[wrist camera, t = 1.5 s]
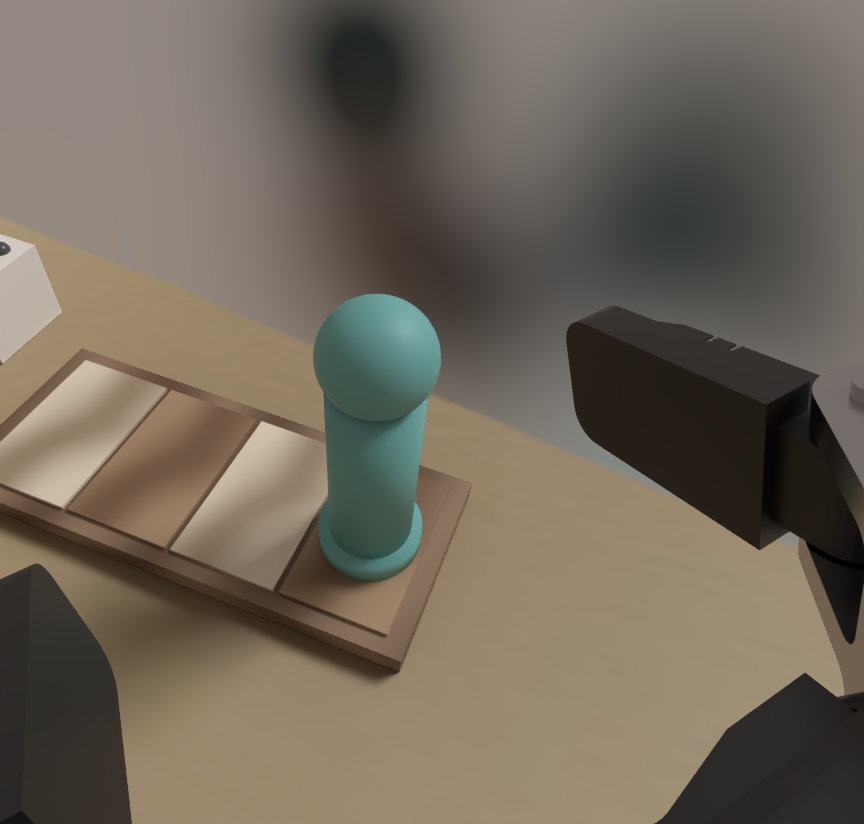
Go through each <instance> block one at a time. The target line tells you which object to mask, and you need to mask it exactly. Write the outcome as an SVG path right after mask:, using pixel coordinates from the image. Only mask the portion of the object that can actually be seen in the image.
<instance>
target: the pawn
mask: <svg viewBox="0 0 864 824" xmlns="http://www.w3.org/2000/svg"><path fill="white" fill-rule="evenodd" d="M313 363H314V369H315V374H316V377H317V380H318V383H319V385H320V387H321V388H322V390H323V392H324V413H325V436H326V458H327V481H328V499H327V501H326V502H325V504H324V505H323V507H322V509H321V512H320V515H319V521H318V528H319V542H320V548H321V551H322V554H323V556H324V558H325V559H326V561H327V562H328V563H329V565H330V566H331V567H332V568H333V569H335V570H336V571H337V572H338V573H340V574H342V575H343V576H346V577H348V578H350V579H353V580H357V581H363V582H376V581H382V580H386V579H389V578H391V577H394V576H396V575H398V574H399V573H401V572H402V571H404V570H405V569H406V568H407V567H408V566H409V565H410V564H411V563H412V561H413V560H414V559H415V557H416V555H417V553H418V550H419V546H420V541H421V534H422V523H423V522H422V516H421V512H420V509H419V507H418V505H417V504H416V502H415V496H416V488H417V480H418V472H419V464H420V456H421V448H422V440H423V432H424V424H425V416H426V408H427V400H428V396H429V394H430V393H431V391H432V390H433V388H434V386H435V383H436V381H437V379H438V375H439V371H440V366H441V352H440V345H439V341H438V338H437V335H436V332H435V330H434V329H433V327H432V325H431V324H430V322H429V320H428V319H427V318H426V317H425V316H424V314H423V313H422V312H421V311H420V310H419V309H417V308H416V307H415V306H413V305H412V304H410V303H409V302H407V301H405V300H403V299H400V298H397V297H394V296H390V295H385V294H368V295H363V296H359V297H356V298H353V299H351V300H349V301H347V302H345V303H343V304H342V305H340V306H339V307H337V308H336V309H335V310H334V311H333V312H332V313H331V314H330V315H329V316H328V317H327V318H326V320H325V321H324V323H323V325H322V326H321V328H320V330H319V332H318V335H317V337H316V341H315V345H314V353H313Z"/></svg>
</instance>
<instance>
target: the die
mask: <svg viewBox="0 0 864 824" xmlns="http://www.w3.org/2000/svg"><path fill="white" fill-rule="evenodd" d="M61 313H62V311H61V308H60V306H59V304H58V301H57V299H56V296H55V294H54V292H53V289H52V287H51V284H50V282H49V279H48V277H47V275H46V272H45V270H44V267H43V265H42V262H41V260H40V258H39V255H38V253H37V250H36V248H35V245H32V244H29V243H26V242H23V241H20V240H17V239H14V238H11V237H7V236H4V235H1V234H0V363H2V364H3V363H4V362H5V361H7V360H8V359H9V358H10V357H11V356H12V355H14V354H15V353H16V352H17V351H18V350H19V349H20V348H22V347H23V346H24V345H25V344H26V343H27V342H29V341H30V340H31V339H32V338H33V337H34V336H35V335H37V334H38V333H39V332H40V331H41V330H42V329H44V328H45V327H46V326H47V325H48V324H49V323H51V322H52V321H53V320H54V319H55V318H56V317H57V316H59V315H60V314H61Z"/></svg>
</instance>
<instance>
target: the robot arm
mask: <svg viewBox="0 0 864 824" xmlns="http://www.w3.org/2000/svg"><path fill="white" fill-rule="evenodd" d="M566 341H567V350H568V358H569V366H570V374H571V382H572V390H573V398H574V406H575V412H576V415H577V418H578V420H579V423H580V425H581V427H582V428H583V430H584V431H585V433H586V434H587V435H588V437H589V438H590V439H591V440H592V441H594V442H595V443H596V444H598V445H599V446H601V447H602V448H604V449H605V450H607V451H608V452H610V453H611V454H613V455H615V456H616V457H618V458H619V459H621V460H622V461H624V462H625V463H627V464H628V465H630V466H631V467H633V468H634V469H636V470H637V471H639V472H641V473H642V474H644V475H645V476H647V477H648V478H650V479H652V480H653V481H654V482H656V483H657V484H659V485H660V486H662V487H663V488H665V489H667V490H668V491H670V492H671V493H673V494H674V495H676V496H677V497H679V498H680V499H682V500H683V501H685V502H686V503H688V504H689V505H691V506H693V507H694V508H696V509H697V510H699V511H700V512H702V513H703V514H705V515H706V516H708V517H709V518H711V519H712V520H714V521H716V522H717V523H719V524H720V525H722V526H723V527H725V528H726V529H728V530H729V531H731V532H732V533H734V534H735V535H737V536H738V537H740V538H742V539H743V540H745V541H746V542H748V543H749V544H751V545H752V546H754V547H755V548H757V549H758V550H761V549H762V548H764V547H765V546H767V545H769V544H770V543H772V542H773V541H775V540H777V539H778V538H780V537H781V536H783V535H784V534H786V533H788V532H789V531H790V532H792V533H794V534H795V535H797V536H798V537H799V545H798V555H799V559H800V562H801V565H802V567H803V570H804V573H805V575H806V578H807V581H808V583H809V586H810V589H811V591H812V594H813V597H814V599H815V602H816V605H817V607H818V610H819V613H820V615H821V618H822V620H823V623H824V626H825V628H826V631H827V634H828V636H829V639H830V642H831V644H832V647H833V650H834V652H835V655H836V658H837V660H838V663H839V666H840V670H841V674H842V678H843V684H844V692H845V695H844V696H840V697H836V696H835V695H833V694H832V693H831V692H829V691H828V690H827V689H826V688H824V687H823V686H822V685H820V684H819V683H818V682H817V681H815V680H814V679H813V678H811V677H810V676H809V675H808V674H806V673H804V674H802V675H801V676H800V677H798V678H797V679H796V680H794V681H793V682H791V683H790V684H789V685H787V686H786V687H785V688H783V689H782V690H780V691H779V692H778V693H776V694H775V695H774V696H772V697H771V698H769V699H768V700H767V701H765V702H764V703H763V704H761V705H760V706H758V707H757V708H756V709H754V710H753V711H752V712H750V713H749V714H747V715H746V716H745V717H743V718H742V719H740V720H739V721H738V722H736V723H735V724H734V725H732V726H731V727H729V728H728V729H727V730H726V731H725V733H724V734H723V736H722V737H721V738H720V740H719V741H718V743H717V744H716V745H715V747H714V748H713V750H712V751H711V752H710V754H709V755H708V757H707V758H706V759H705V761H704V762H703V764H702V765H701V766H700V768H699V769H698V771H697V772H696V774H695V775H694V776H693V778H692V779H691V781H690V782H689V783H688V785H687V786H686V788H685V789H684V790H683V792H682V793H681V795H680V796H679V797H678V799H677V800H676V802H675V803H674V804H673V806H672V807H671V809H670V810H669V811H668V813H667V814H666V815H665V816H664V817H663V818H662V819H661V820H659V821H658V822H657V823H655V824H864V363H863V364H852V365H846V366H842V367H838V368H835V369H832V370H829V371H828V372H825V373H824V374H822V375H821V376H820V375H817V374H814V373H812V372H809V371H806V370H804V369H801V368H798V367H796V366H793V365H790V364H788V363H785V362H782V361H780V360H777V359H774V358H772V357H769V356H766V355H764V354H761V353H758V352H755V351H753V350H750V349H748V348H745V347H740V348H738V347H737V346H736V344H734V343H731V342H729V341H726V340H724V339H721V338H717V339H714V337H713V335H710V334H708V333H705V332H702V331H699V330H697V329H694V328H692V327H689V326H686V325H680V324H672V323H664V322H657V321H654V320H652V319H649V318H646V317H644V316H641V315H639V314H636V313H634V312H631V311H629V310H626V309H623V308H621V307H617V306H610V307H608V308H606V309H604V310H601V311H599V312H597V313H594V314H592V315H590V316H588V317H586V318H583V319H581V320H579V321H577V322H574V323H573V324H571V325H570V326H569V328H568V330H567V335H566ZM0 824H132V820H131V811H130V802H129V793H128V784H127V775H126V766H125V757H124V748H123V739H122V730H121V721H120V712H119V703H118V694H117V687H116V682H115V678H114V675H113V672H112V669H111V667H110V664H109V662H108V659H107V657H106V655H105V653H104V651H103V649H102V648H101V646H100V644H99V643H98V641H97V640H96V639H95V637H94V636H93V634H92V633H91V631H90V630H89V629H88V627H87V626H86V624H85V623H84V621H83V620H82V619H81V617H80V616H79V614H78V613H77V611H76V610H75V609H74V607H73V606H72V604H71V603H70V601H69V600H68V599H67V597H66V596H65V594H64V593H63V592H62V590H61V589H60V587H59V586H58V584H57V583H56V582H55V580H54V579H53V577H52V576H51V575H50V573H49V572H48V571H47V570H46V569H45V568H44V567H43V566H41V565H40V564H33V565H31V566H29V567H27V568H24V569H22V570H20V571H18V572H15V573H13V574H11V575H9V576H7V577H4V578H2V579H0Z"/></svg>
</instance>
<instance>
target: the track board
mask: <svg viewBox="0 0 864 824" xmlns="http://www.w3.org/2000/svg"><path fill="white" fill-rule="evenodd" d="M471 485H472V483H470V482H467V481H464V480H461V479H458V478H455V477H452V476H449V475H446V474H443V473H441V472H438V471H435V470H432V469H429V468H426V467H423V466H420V465H419V472H418V480H417V488H416V496H415V502H416V504H417V505H418V507H419V509H420V512H421V516H422V522H423V523H422V534H421V541H420V546H419V550H418V553H417V555H416V557H415V559H414V560H413V561H412V563H411V564H410V565H409V566H408V567H407V568H406V569H405V570H404V571H402V572H401V573H399V574H398V575H396V576H394V577H391V578H389V579H386V580H382V581H376V582H363V581H357V580H353V579H350V578H348V577H346V576H343V575H342V574H340V573H338V572H337V571H336V570H335V569H333V568H332V567H331V566H330V565H329V563H328V562H327V561H326V559H325V558H324V556H323V554H322V551H321V548H320V542H319V528H318V521H319V515H320V512H321V509H322V507H323V505H324V504H325V502H326V501H327V499H328V481H327V458H326V436H325V432H322V431H319V430H316V429H313V428H310V427H307V426H305V425H302V424H299V423H296V422H293V421H290V420H287V419H284V418H281V417H279V416H276V415H273V414H270V413H267V412H264V411H261V410H258V409H255V408H253V407H250V406H247V405H244V404H241V403H238V402H235V401H232V400H229V399H226V398H224V397H221V396H218V395H215V394H212V393H209V392H206V391H203V390H200V389H198V388H195V387H192V386H189V385H186V384H183V383H180V382H177V381H174V380H172V379H169V378H166V377H163V376H160V375H157V374H154V373H151V372H148V371H145V370H143V369H140V368H137V367H134V366H131V365H128V364H125V363H122V362H119V361H117V360H114V359H111V358H108V357H105V356H102V355H99V354H96V353H93V352H90V351H88V350H85V349H81V350H80V351H79V352H78V353H77V354H76V355H74V356H73V357H72V358H71V359H70V360H69V361H68V362H67V363H66V364H65V365H64V366H63V367H62V368H61V369H60V370H58V371H57V372H56V373H55V374H54V375H53V376H52V377H51V378H50V379H49V380H48V381H47V382H46V383H45V384H44V385H43V386H41V387H40V388H39V389H38V390H37V391H36V392H35V393H34V394H33V395H32V396H31V397H30V398H29V399H28V400H27V401H25V402H24V403H23V404H22V405H21V406H20V407H19V408H18V409H17V410H16V411H15V412H14V413H13V414H12V415H11V416H10V417H8V418H7V419H6V420H5V421H4V422H3V423H2V424H1V425H0V513H2V514H5V515H7V516H10V517H12V518H15V519H17V520H20V521H22V522H25V523H27V524H30V525H32V526H35V527H37V528H40V529H42V530H45V531H47V532H50V533H52V534H55V535H57V536H60V537H62V538H65V539H67V540H70V541H72V542H75V543H77V544H80V545H82V546H85V547H87V548H90V549H92V550H95V551H97V552H100V553H102V554H105V555H107V556H110V557H112V558H115V559H117V560H120V561H122V562H125V563H127V564H130V565H132V566H135V567H137V568H140V569H142V570H145V571H147V572H150V573H152V574H155V575H157V576H160V577H162V578H165V579H167V580H170V581H172V582H175V583H177V584H180V585H182V586H185V587H187V588H190V589H192V590H195V591H197V592H200V593H202V594H205V595H207V596H210V597H212V598H215V599H217V600H220V601H222V602H225V603H227V604H230V605H232V606H235V607H237V608H240V609H242V610H245V611H247V612H250V613H252V614H255V615H257V616H260V617H262V618H265V619H267V620H270V621H272V622H275V623H277V624H280V625H282V626H285V627H287V628H290V629H292V630H295V631H297V632H300V633H302V634H305V635H307V636H310V637H312V638H315V639H317V640H320V641H322V642H325V643H327V644H330V645H332V646H335V647H337V648H340V649H342V650H345V651H347V652H350V653H352V654H355V655H357V656H360V657H362V658H365V659H367V660H370V661H372V662H375V663H377V664H380V665H382V666H385V667H387V668H390V669H392V670H395V671H397V672H400V669H401V667H402V664H403V662H404V659H405V657H406V654H407V651H408V649H409V646H410V644H411V641H412V639H413V636H414V634H415V631H416V629H417V626H418V624H419V621H420V619H421V616H422V614H423V611H424V609H425V606H426V604H427V601H428V598H429V596H430V593H431V591H432V588H433V586H434V583H435V581H436V578H437V576H438V573H439V571H440V568H441V566H442V563H443V561H444V558H445V556H446V553H447V551H448V548H449V545H450V543H451V540H452V538H453V535H454V533H455V530H456V528H457V525H458V523H459V520H460V518H461V515H462V513H463V510H464V508H465V505H466V503H467V500H468V497H469V494H470V490H471Z"/></svg>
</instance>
